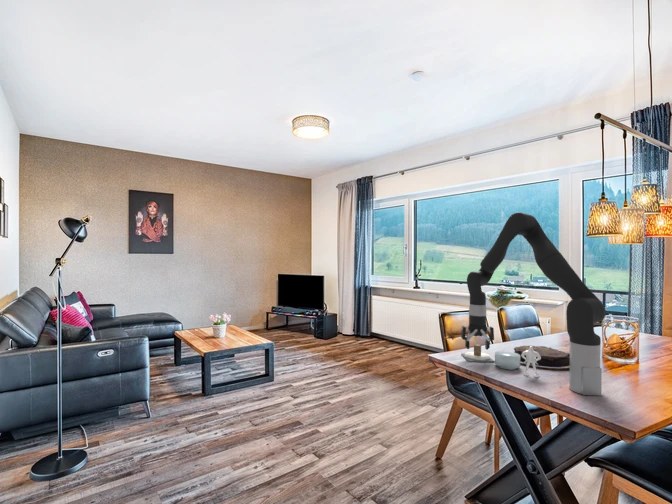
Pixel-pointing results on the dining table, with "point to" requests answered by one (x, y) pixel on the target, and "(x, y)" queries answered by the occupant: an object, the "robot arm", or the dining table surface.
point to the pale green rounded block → (507, 360)
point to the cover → (477, 354)
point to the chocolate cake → (546, 357)
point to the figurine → (531, 360)
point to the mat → (476, 360)
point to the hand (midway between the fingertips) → (477, 348)
